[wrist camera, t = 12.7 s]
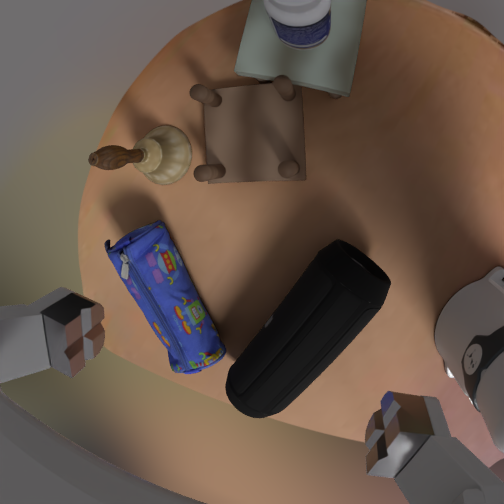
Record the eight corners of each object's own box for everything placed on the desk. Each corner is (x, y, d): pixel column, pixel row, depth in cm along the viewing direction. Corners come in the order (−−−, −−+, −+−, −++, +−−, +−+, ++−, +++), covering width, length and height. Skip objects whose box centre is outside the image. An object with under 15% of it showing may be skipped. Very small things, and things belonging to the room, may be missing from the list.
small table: (360, 24, 32) (367, -3, 24) (344, 105, 36) (350, 93, 28) (269, 8, 34) (257, -20, 26) (250, 86, 37) (233, 71, 30)
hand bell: (189, 120, 40) (121, 106, 25) (195, 181, 42) (130, 195, 28) (136, 131, 42) (59, 128, 27) (142, 188, 44) (67, 205, 29)
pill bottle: (341, 35, 26) (346, -8, 17) (295, 61, 28) (283, 24, 19) (309, -2, 26) (301, -52, 16) (264, 22, 28) (241, -22, 18)
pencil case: (126, 232, 47) (87, 248, 38) (169, 208, 44) (133, 221, 35) (191, 354, 51) (167, 389, 42) (236, 342, 48) (218, 379, 39)
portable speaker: (329, 227, 41) (330, 248, 31) (388, 270, 40) (405, 301, 31) (230, 359, 49) (210, 400, 40) (282, 391, 49) (272, 434, 40)
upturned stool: (301, 85, 36) (296, 68, 29) (306, 179, 39) (302, 184, 32) (208, 93, 39) (184, 81, 31) (213, 182, 42) (189, 188, 34)
